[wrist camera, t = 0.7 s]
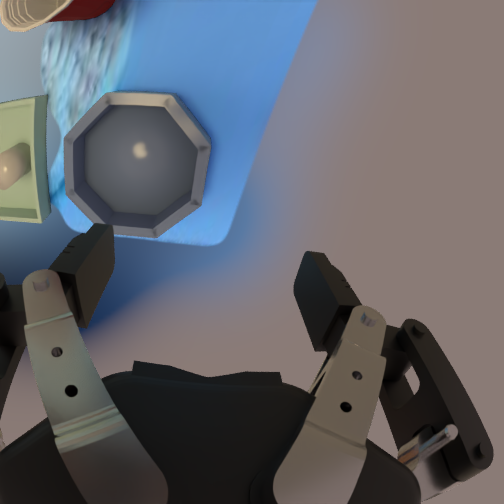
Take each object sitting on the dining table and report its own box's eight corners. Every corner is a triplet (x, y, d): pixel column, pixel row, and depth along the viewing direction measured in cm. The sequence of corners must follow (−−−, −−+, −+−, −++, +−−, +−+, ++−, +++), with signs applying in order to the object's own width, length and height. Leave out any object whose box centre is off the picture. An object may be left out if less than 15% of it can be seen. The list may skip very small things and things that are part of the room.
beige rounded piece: (10, 143, 22) (-12, 155, 18) (33, 141, 23) (11, 153, 19) (12, 174, 24) (-8, 189, 20) (35, 173, 25) (15, 190, 21)
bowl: (81, 91, 22) (66, 94, 19) (218, 98, 26) (220, 101, 23) (81, 214, 31) (69, 230, 27) (196, 224, 35) (196, 242, 31)
